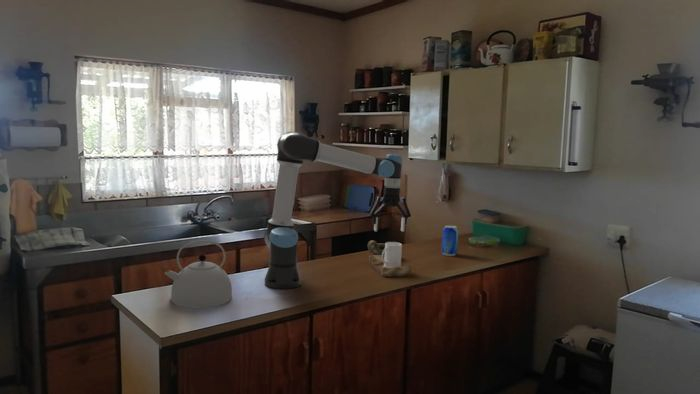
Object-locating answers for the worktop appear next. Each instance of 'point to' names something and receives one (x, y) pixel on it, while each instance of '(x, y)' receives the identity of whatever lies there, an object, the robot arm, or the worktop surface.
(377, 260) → the rack
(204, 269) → the kettle
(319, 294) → the worktop surface
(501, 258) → the worktop surface
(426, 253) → the worktop surface
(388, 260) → the mug
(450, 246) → the beer can
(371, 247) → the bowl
